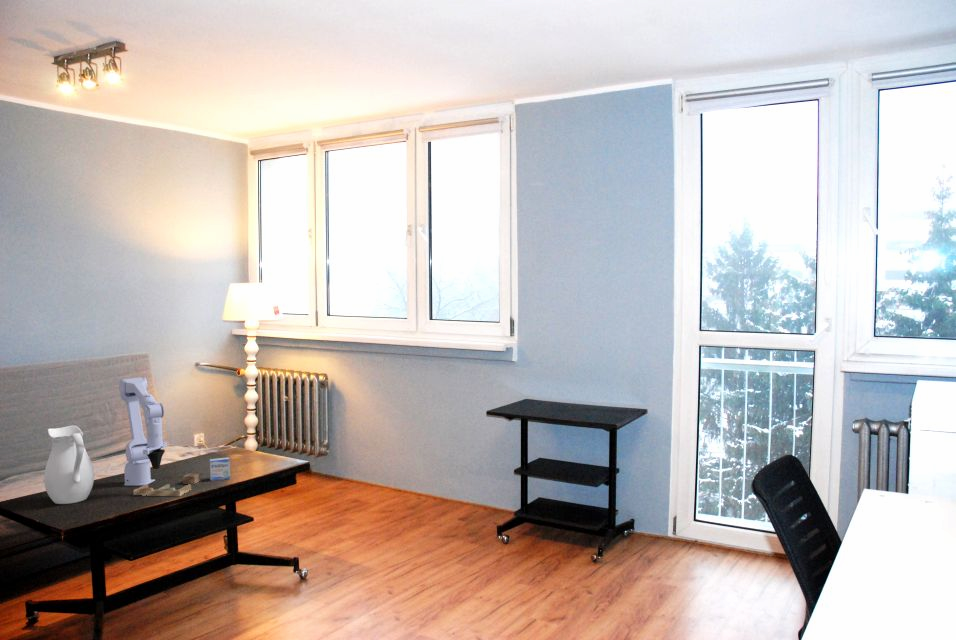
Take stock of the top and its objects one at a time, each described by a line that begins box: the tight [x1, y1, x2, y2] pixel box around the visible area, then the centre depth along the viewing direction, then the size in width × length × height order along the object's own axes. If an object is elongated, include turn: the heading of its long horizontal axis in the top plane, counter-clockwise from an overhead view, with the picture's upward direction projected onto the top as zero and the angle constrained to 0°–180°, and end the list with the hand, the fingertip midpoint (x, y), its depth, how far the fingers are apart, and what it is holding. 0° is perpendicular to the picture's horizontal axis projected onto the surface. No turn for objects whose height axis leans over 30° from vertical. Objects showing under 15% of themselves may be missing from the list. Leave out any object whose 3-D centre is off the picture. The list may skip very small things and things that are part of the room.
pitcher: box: [43, 424, 95, 505], centre depth 287 cm, size 24×17×28 cm
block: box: [182, 472, 201, 485], centre depth 312 cm, size 5×5×4 cm
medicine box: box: [209, 456, 231, 482], centre depth 317 cm, size 8×4×9 cm, turn 112°
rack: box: [132, 483, 192, 497], centre depth 298 cm, size 19×9×3 cm, turn 84°
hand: (156, 468), depth 299 cm, fingers closed
